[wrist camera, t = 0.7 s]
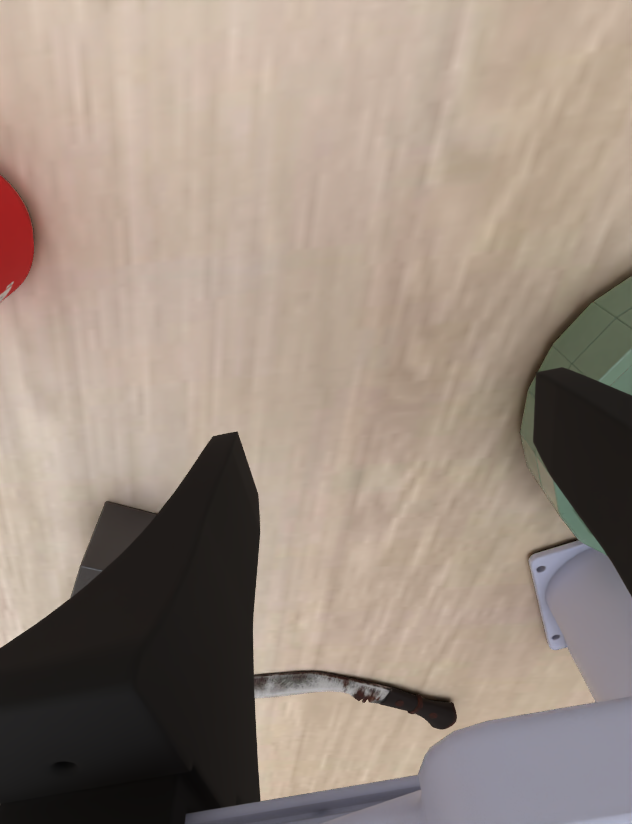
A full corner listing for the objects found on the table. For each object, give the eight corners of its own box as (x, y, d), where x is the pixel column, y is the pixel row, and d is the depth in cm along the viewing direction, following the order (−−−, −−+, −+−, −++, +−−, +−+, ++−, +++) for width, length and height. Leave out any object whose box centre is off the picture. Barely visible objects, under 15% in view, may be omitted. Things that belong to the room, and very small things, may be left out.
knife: (186, 723, 35) (190, 675, 33) (190, 703, 36) (194, 655, 34) (449, 736, 37) (470, 692, 35) (444, 716, 39) (464, 673, 36)
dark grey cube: (169, 559, 28) (155, 626, 25) (92, 541, 27) (66, 609, 24) (185, 520, 27) (173, 586, 23) (105, 500, 26) (80, 565, 22)
